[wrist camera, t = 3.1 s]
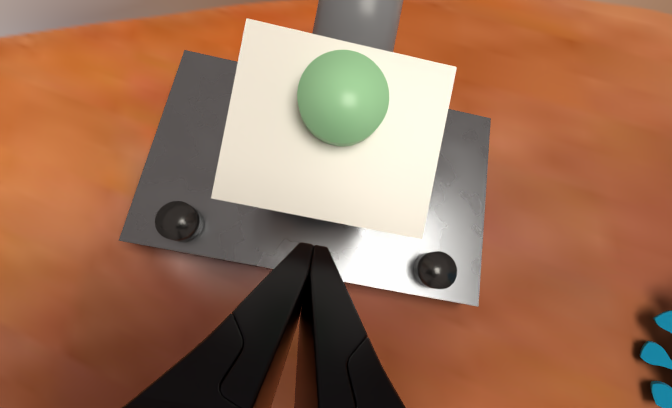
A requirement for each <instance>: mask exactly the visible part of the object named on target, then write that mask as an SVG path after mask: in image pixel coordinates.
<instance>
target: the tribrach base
mask: <svg viewBox="0 0 672 408" xmlns="http://www.w3.org/2000/svg"><path fill="white" fill-rule="evenodd" d="M237 64H238V62H236V61H231V60H227V59H222V58H218V57H213V56H209V55H204V54H200V53H195V52H191V51H186V50H185V51H184V53H183V56H182V59H181V62H180V65H179V68H178V71H177V74H176V77H175V79H174V82H173V85H172V88H171V91H170V94H169V97H168V100H167V103H166V105H165V108H164V111H163V114H162V117H161V120H160V123H159V126H158V129H157V132H156V134H155V137H154V140H153V143H152V146H151V149H150V152H149V155H148V158H147V160H146V163H145V166H144V169H143V172H142V175H141V178H140V181H139V184H138V186H137V189H136V192H135V195H134V198H133V201H132V204H131V207H130V210H129V213H128V215H127V218H126V221H125V224H124V227H123V230H122V233H121V236H120V239H119V241H124V242H130V243H135V244H140V245H146V246H151V247H157V248H162V249H167V250H173V251H178V252H184V253H189V254H195V255H200V256H206V257H211V258H217V259H222V260H227V261H233V262H238V263H244V264H249V265H255V266H260V267H266V268H271V269H274V268H275V267H276V266H277V265H278V264H279V263H280V262H281V261H282V260H283V259H284V258H285V257H286V256H287V255H288V254H289V253H290V252H291V251H292V250H293V249H294V248H295V247H296V246H297V245H298V244H299V243H300V242H305V243H310V244H313V247H314V245H320V246H326V247H328V249H329V251H330V253H331V255H332V258H333V260H334V262H335V264H336V267H337V269H338V271H339V273H340V275H341V278H342V280H343V282H347V283H353V284H358V285H364V286H369V287H375V288H380V289H385V290H391V291H396V292H402V293H407V294H413V295H418V296H424V297H429V298H434V299H440V300H445V301H451V302H456V303H462V304H467V305H473V306H478V305H479V289H480V274H481V259H482V243H483V228H484V213H485V197H486V182H487V166H488V151H489V136H490V120H491V118H487V117H482V116H478V115H473V114H469V113H464V112H460V111H455V110H451V109H448V113H447V118H446V123H445V128H444V133H443V138H442V143H441V148H440V153H439V158H438V163H437V168H436V173H435V178H434V183H433V188H432V193H431V198H430V203H429V208H428V213H427V218H426V223H425V228H424V233H423V238H422V239H417V238H412V237H407V236H402V235H397V234H391V233H386V232H381V231H376V230H371V229H366V228H361V227H356V226H350V225H345V224H340V223H335V222H330V221H321V220H315V219H311V218H308V217H304V216H299V215H294V214H289V213H284V212H279V211H274V210H268V209H263V208H258V207H253V206H248V205H243V204H238V203H233V202H227V201H222V200H217V199H212V198H211V196H212V191H213V186H214V181H215V175H216V170H217V165H218V160H219V155H220V150H221V145H222V140H223V135H224V130H225V125H226V120H227V115H228V110H229V104H230V99H231V94H232V89H233V84H234V79H235V74H236V69H237Z"/></svg>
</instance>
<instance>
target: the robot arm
mask: <svg viewBox="0 0 672 408" xmlns="http://www.w3.org/2000/svg"><path fill="white" fill-rule="evenodd" d="M301 307H302V308H301ZM300 312H301V314H300ZM299 317H300V323H299V338H298V354H297V371H296V388H295V404H294V408H406V407H405V406H404V404H403V402H402V401H401V399H400V397H399V395H398V394H397V392H396V390H395V389H394V387H393V385H392V383H391V382H390V380H389V378H388V376H387V374H386V373H385V371H384V369H383V367H382V365H381V363H380V361H379V359H378V357H377V355H376V353H375V351H374V348H373V346H372V344H371V342H370V339H369V338H368V337H367V333H366V331H365V329H364V326H363V324H362V322H361V320H360V318H359V315H358V313H357V311H356V309H355V306H354V304H353V302H352V300H351V298H350V295H349V293H348V291H347V289H346V286H345V284H344V282H343V280H342V278H341V275H340V273H339V271H338V269H337V267H336V264H335V262H334V260H333V258H332V255H331V253H330V251H329V249H328V247H326V246H320V245H314V247H313V244H310V243H305V242H300V243H299V244H298V245H297V246H296V247H295V248H294V249H293V250H292V251H291V252H290V253H289V254H288V255H287V256H286V257H285V258H284V259H283V260H282V261H281V262H280V263H279V264H278V265H277V266H276V267H275V268H274V269H273V270H272V271H271V272H270V273H269V275H268V276H267V277H266V278H265V279H264V280H263V281H262V282H261V283H260V284H259V285H258V286H257V287H256V288H255V289H254V290H253V291H252V292H251V293H250V294H249V295H248V296H247V297H246V298H245V299H244V300H243V301H242V302H241V303H240V304H239V306H238V307H237V308H236V309H235V310H234V311H233V312H232V314H230V315H229V316H228V317H227V318H226V319H225V320H224V321H223V322H222V323H221V324H220V325H219V326H218V327H217V328H216V329H215V330H214V331H213V332H212V333H211V334H210V335H209V336H208V337H207V338H206V339H204V340H203V341H202V342H201V343H200V344H199V345H197V346H196V347H195V348H194V349H193V350H192V351H191V352H189V353H188V354H187V355H186V356H185V357H183V358H182V359H181V360H180V361H179V362H177V363H176V364H175V365H174V366H173V367H171V368H170V369H169V370H168V371H166V372H165V373H164V374H163V375H162V376H160V377H159V378H158V379H157V380H156V381H154V382H153V383H152V384H151V385H149V386H148V387H147V388H146V389H145V390H143V391H142V392H141V393H140V394H139V395H137V396H136V397H135V398H134V399H132V400H131V401H130V402H129V403H127V404H126V405H124V406H123V407H122V408H271V405H272V401H273V398H274V395H275V392H276V389H277V386H278V383H279V380H280V377H281V373H282V370H283V367H284V364H285V361H286V358H287V355H288V352H289V349H290V346H291V342H292V339H293V336H294V333H295V330H296V327H297V324H298V320H299Z"/></svg>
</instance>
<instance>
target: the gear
mask: <svg viewBox="0 0 672 408" xmlns="http://www.w3.org/2000/svg"><path fill="white" fill-rule="evenodd" d="M653 319H654V321H655V323H656V324H657V325H658V326H659V327H661V328H663V329H665V330H667V331H669V332H670V333H672V310H670V311H665V312H662V313H660V314H658V315H657V316H655V317H654V318H653ZM639 356H640V357H641V358H642V359H643V360H644V361H645V362H647V363H649V364H652V365H658V366H663V367H667V368H669V369H672V360H671V359H670V358H669V356H668V354H667V353H666V351H665V350H664V349H663V348H662V347H661V346H660V345H659V344H657V343H655V342H652V341H647V342H646V343H645V344H644V345H643V346H642V348H641V351H640V355H639ZM650 387H651V392H652V396H653V398H654V401H655V403H656V405H658V406H660V407H663V408H672V387H670V386H669V385H668V384H666V383H664V382H661V381H652V382H651V385H650Z"/></svg>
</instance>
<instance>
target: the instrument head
mask: <svg viewBox="0 0 672 408" xmlns="http://www.w3.org/2000/svg"><path fill="white" fill-rule="evenodd" d="M402 4H403V0H319V3H318V8H317V13H316V18H315V23H314V28H313V33H307V32H303V31H299V30H294V29H290V28H286V27H281V26H277V25H273V24H269V23H264V22H260V21H256V20H251V19H247V18H246V23H245V28H244V34H243V39H242V44H241V49H240V54H239V59H238V64H237V69H236V74H235V79H234V84H233V89H232V94H231V99H230V104H229V110H228V115H227V120H226V125H225V130H224V135H223V140H222V145H221V150H220V155H219V160H218V165H217V170H216V175H215V181H214V186H213V191H212V196H211V198H212V199H217V200H222V201H227V202H233V203H238V204H243V205H248V206H253V207H258V208H263V209H268V210H274V211H279V212H284V213H289V214H294V215H299V216H304V217H308V218H311V219H315V220H321V221H330V222H335V223H340V224H345V225H350V226H356V227H361V228H366V229H371V230H376V231H381V232H386V233H391V234H397V235H402V236H407V237H412V238H417V239H422V238H423V233H424V228H425V223H426V218H427V213H428V208H429V203H430V198H431V193H432V188H433V183H434V178H435V173H436V168H437V163H438V158H439V153H440V148H441V143H442V138H443V133H444V128H445V123H446V118H447V113H448V108H449V103H450V98H451V93H452V88H453V83H454V78H455V73H456V68H457V67H454V66H449V65H445V64H441V63H437V62H432V61H428V60H424V59H419V58H415V57H411V56H406V55H402V54H398V53H393V49H394V44H395V39H396V34H397V29H398V24H399V19H400V14H401V9H402Z"/></svg>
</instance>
